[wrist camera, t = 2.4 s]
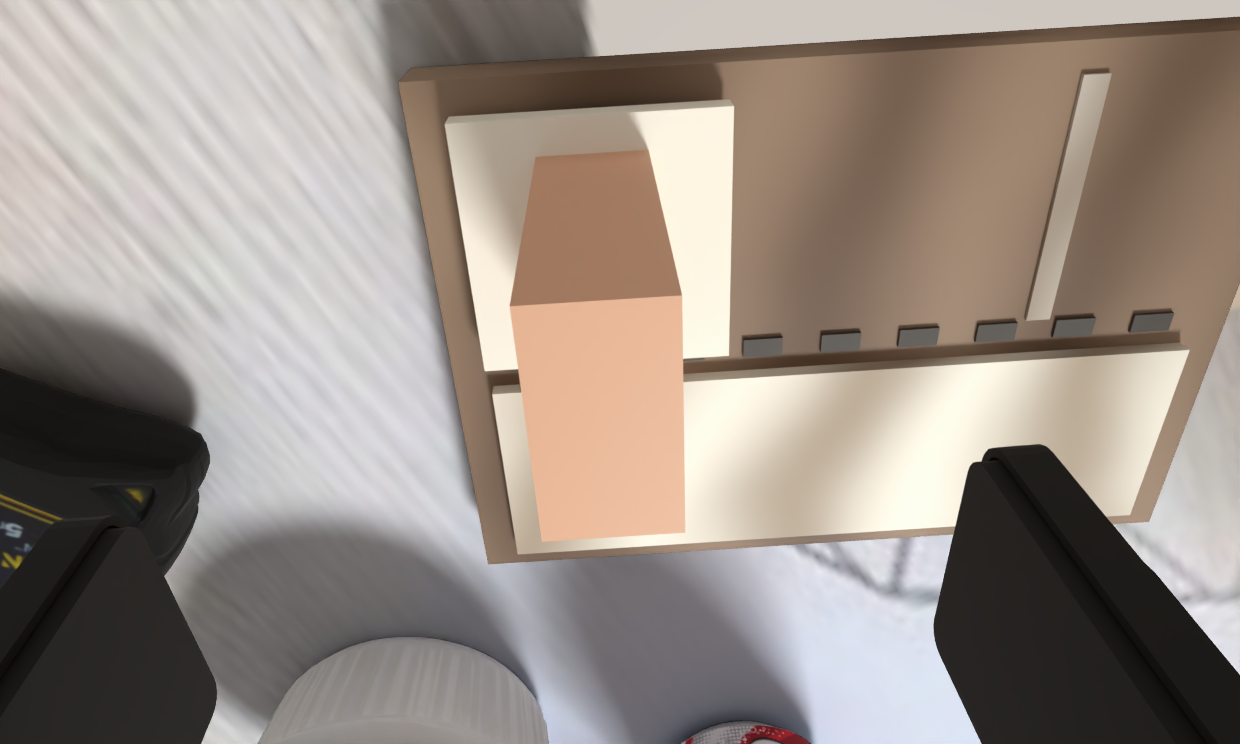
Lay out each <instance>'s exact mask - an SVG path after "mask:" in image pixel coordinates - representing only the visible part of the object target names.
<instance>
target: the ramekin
mask: <svg viewBox="0 0 1240 744" xmlns="http://www.w3.org/2000/svg"><path fill="white" fill-rule="evenodd" d="M257 744H549V740H548V733H547V727H546V723H545V720H544V718H543V713H542V711H541V708H540V707H539V705H538V703H537V701H536V699H535V697H534V696H533V695H532V693H531V692H530V691H529V690H528V688H527V687H526V686H525V685H524V684H523V683H522V682H521V681H520V680H519V679H518V677H517V676H516V675H515V674H514V673H512V672H511V671H510V670H509V669H508V668H507V667H505V666H504V665H502V664H501V663H500V662H498V661H496V660H495V659H493V658H491V657H490V656H488V655H486V654H484V653H482V652H480V651H477V650H475V649H473V648H470V647H467V646H464V645H461V644H457V643H453V642H450V641H445V640H439V639H433V638H424V637H392V638H382V639H377V640H371V641H367V642H363V643H360V644H356V645H353V646H350V647H348V648H345V649H343V650H341V651H339V652H337V653H335V654H333V655H331V656H329V657H328V658H326V659H323V660H322V661H321V662H319V663H318V664H316V665H314V666H313V667H311V668H310V669H309V670H308V671H307V672H306V673H304V674H303V675H302V676H300V677H299V678H298V679H297V680H296V681H295V682H294V684H293V685H292V687H291V688H290V689H289V690H288V691H287V692H286V694H285V695H284V697H283V699H282V701H281V702H280V704H279V706H278V708H277V710H276V711H275V713H274V715H273V717H272V719H271V721H270V722H269V724H268V726H267V728H266V729H265V731H264V733H263V735H262V736H261V738H260V740H259V742H258V743H257Z"/></svg>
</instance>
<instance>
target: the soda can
mask: <svg viewBox="0 0 1240 744" xmlns="http://www.w3.org/2000/svg"><path fill="white" fill-rule="evenodd" d="M681 744H811V743H810V742H809V741H807V740H806V739H804V738H803V737H801V736H799V735H797V734H795V733H793V732H790V731H787V730H785V729H781V728H777V727H773V726H771V725H768V724H764V723H759V722H751V721H737V722H728V723H722V724H718V725H715V726H711V727H709V728H706V729H704V730H701V731H700V732H698V733H696V734H694V735H693V736H691V737H690V738H689V739H687V740H685V741H684V742H682V743H681Z"/></svg>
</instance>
